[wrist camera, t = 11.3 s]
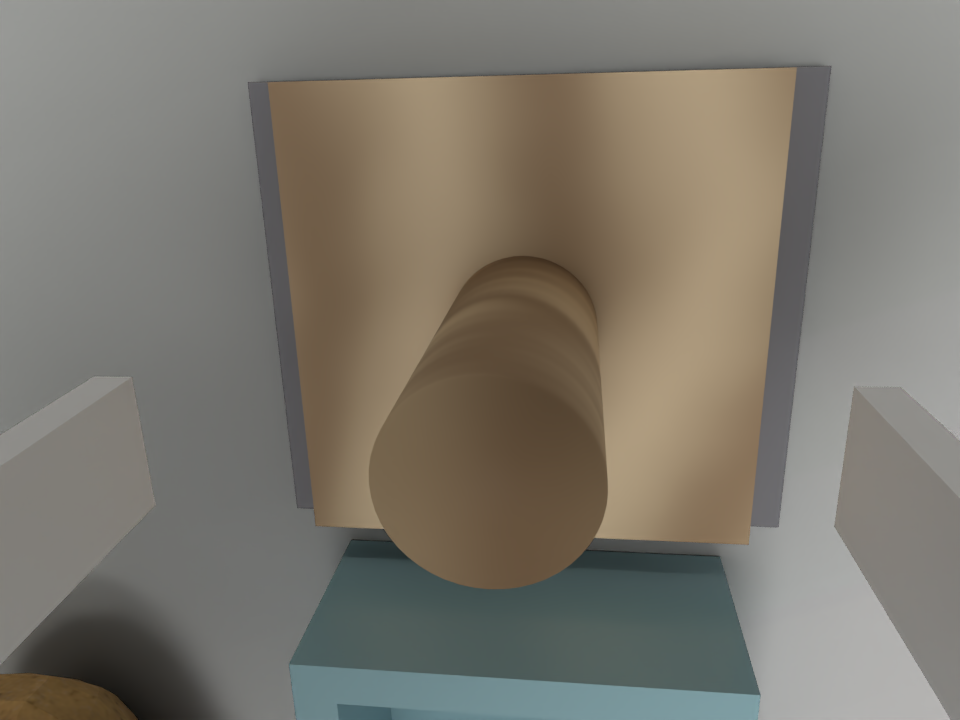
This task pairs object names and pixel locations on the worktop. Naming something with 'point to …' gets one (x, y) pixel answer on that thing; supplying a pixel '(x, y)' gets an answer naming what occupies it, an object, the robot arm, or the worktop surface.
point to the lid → (533, 306)
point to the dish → (525, 643)
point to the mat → (785, 302)
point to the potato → (57, 699)
